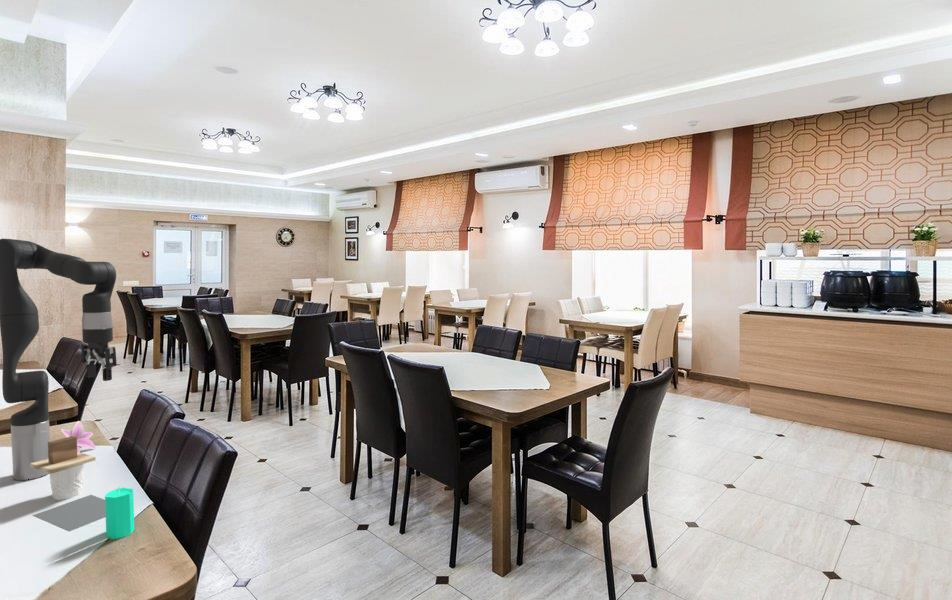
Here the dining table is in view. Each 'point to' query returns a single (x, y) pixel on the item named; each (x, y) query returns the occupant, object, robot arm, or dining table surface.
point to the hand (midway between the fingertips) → (99, 378)
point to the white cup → (67, 483)
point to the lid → (62, 456)
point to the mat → (75, 513)
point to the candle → (119, 513)
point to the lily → (80, 436)
